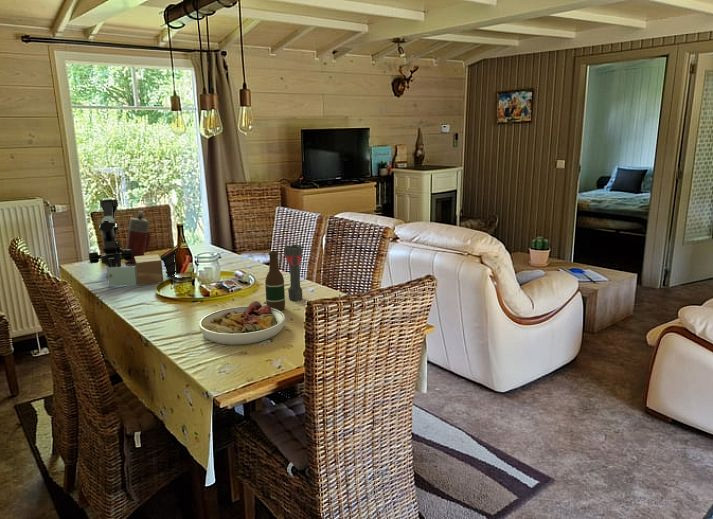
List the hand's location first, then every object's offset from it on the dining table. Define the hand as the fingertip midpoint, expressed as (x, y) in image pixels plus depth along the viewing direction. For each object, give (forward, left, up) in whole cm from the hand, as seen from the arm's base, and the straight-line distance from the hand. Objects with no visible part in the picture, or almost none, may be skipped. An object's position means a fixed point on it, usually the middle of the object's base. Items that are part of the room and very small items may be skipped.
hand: (112, 271), depth 253 cm
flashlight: (+59, +69, -7) cm, 91 cm away
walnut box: (-3, +16, -7) cm, 18 cm away
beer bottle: (+70, +57, -7) cm, 90 cm away
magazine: (-7, +29, -7) cm, 31 cm away
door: (+3, +4, -7) cm, 8 cm away
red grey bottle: (-48, +13, -7) cm, 50 cm away
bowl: (+88, +39, -8) cm, 96 cm away
